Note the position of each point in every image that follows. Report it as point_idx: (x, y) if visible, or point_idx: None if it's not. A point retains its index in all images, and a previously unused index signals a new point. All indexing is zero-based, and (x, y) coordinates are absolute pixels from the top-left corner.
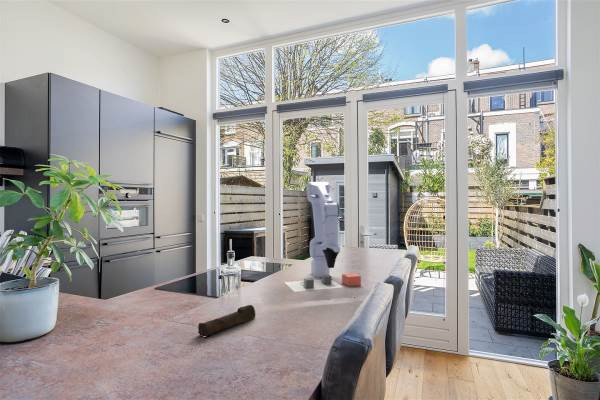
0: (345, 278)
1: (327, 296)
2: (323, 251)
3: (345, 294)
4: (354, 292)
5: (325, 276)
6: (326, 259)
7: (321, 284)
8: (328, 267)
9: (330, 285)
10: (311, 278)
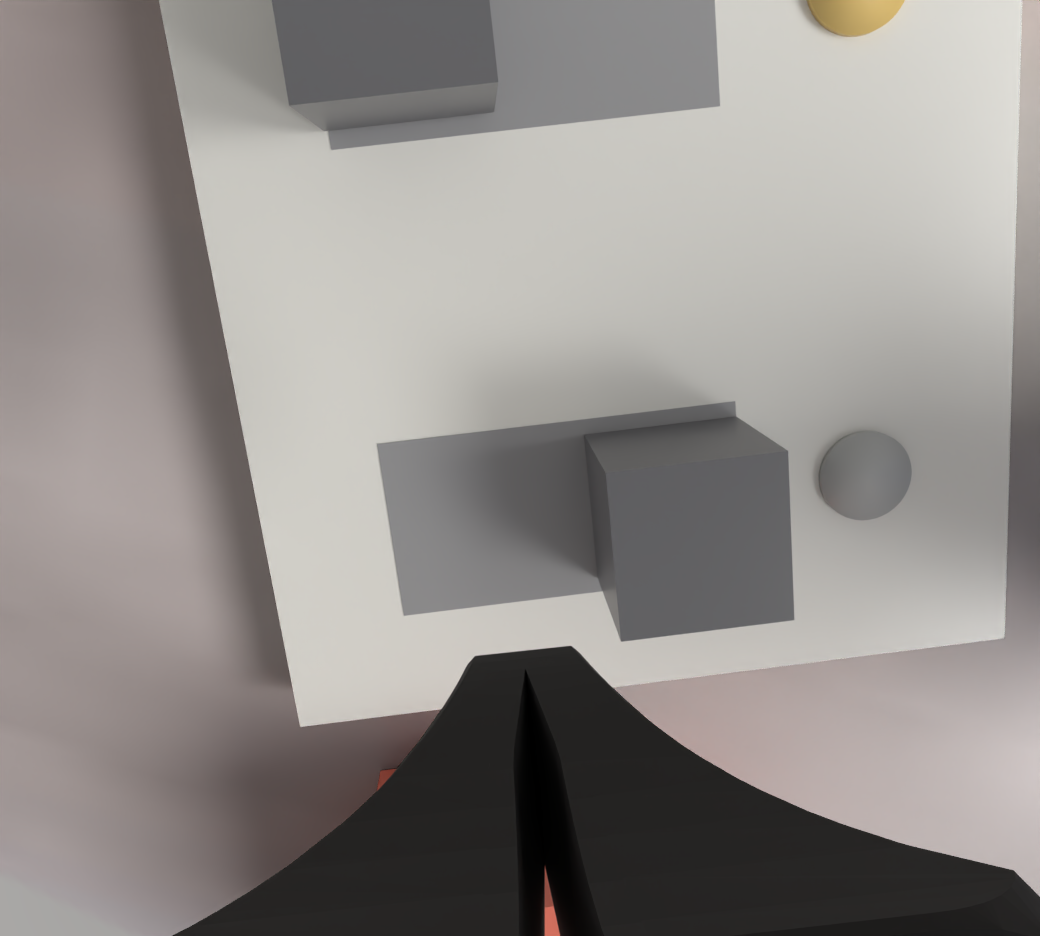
0: None
1: (16, 329)
2: (808, 903)
3: (110, 659)
4: (210, 821)
5: (637, 502)
6: (602, 746)
7: (586, 367)
8: (519, 653)
9: (467, 522)
10: (455, 77)
